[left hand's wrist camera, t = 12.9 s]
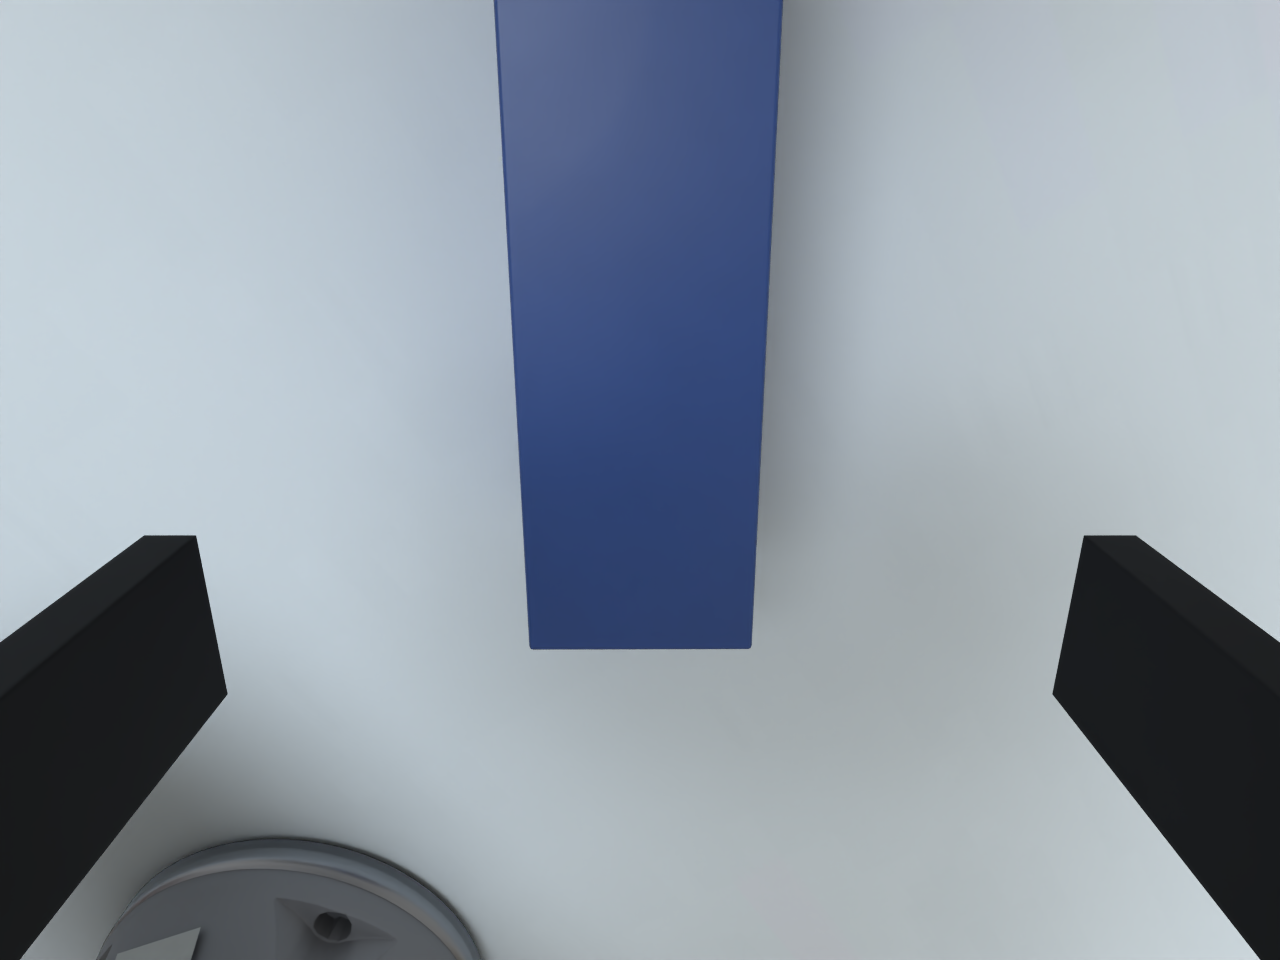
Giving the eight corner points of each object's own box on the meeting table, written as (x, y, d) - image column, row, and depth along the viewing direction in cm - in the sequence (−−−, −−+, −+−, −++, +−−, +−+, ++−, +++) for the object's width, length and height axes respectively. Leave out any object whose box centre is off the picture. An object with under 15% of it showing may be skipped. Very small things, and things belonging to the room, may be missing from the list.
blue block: (536, -83, 22) (480, -216, 14) (741, -84, 22) (794, -217, 14) (559, 519, 28) (529, 651, 20) (721, 519, 28) (752, 650, 20)
